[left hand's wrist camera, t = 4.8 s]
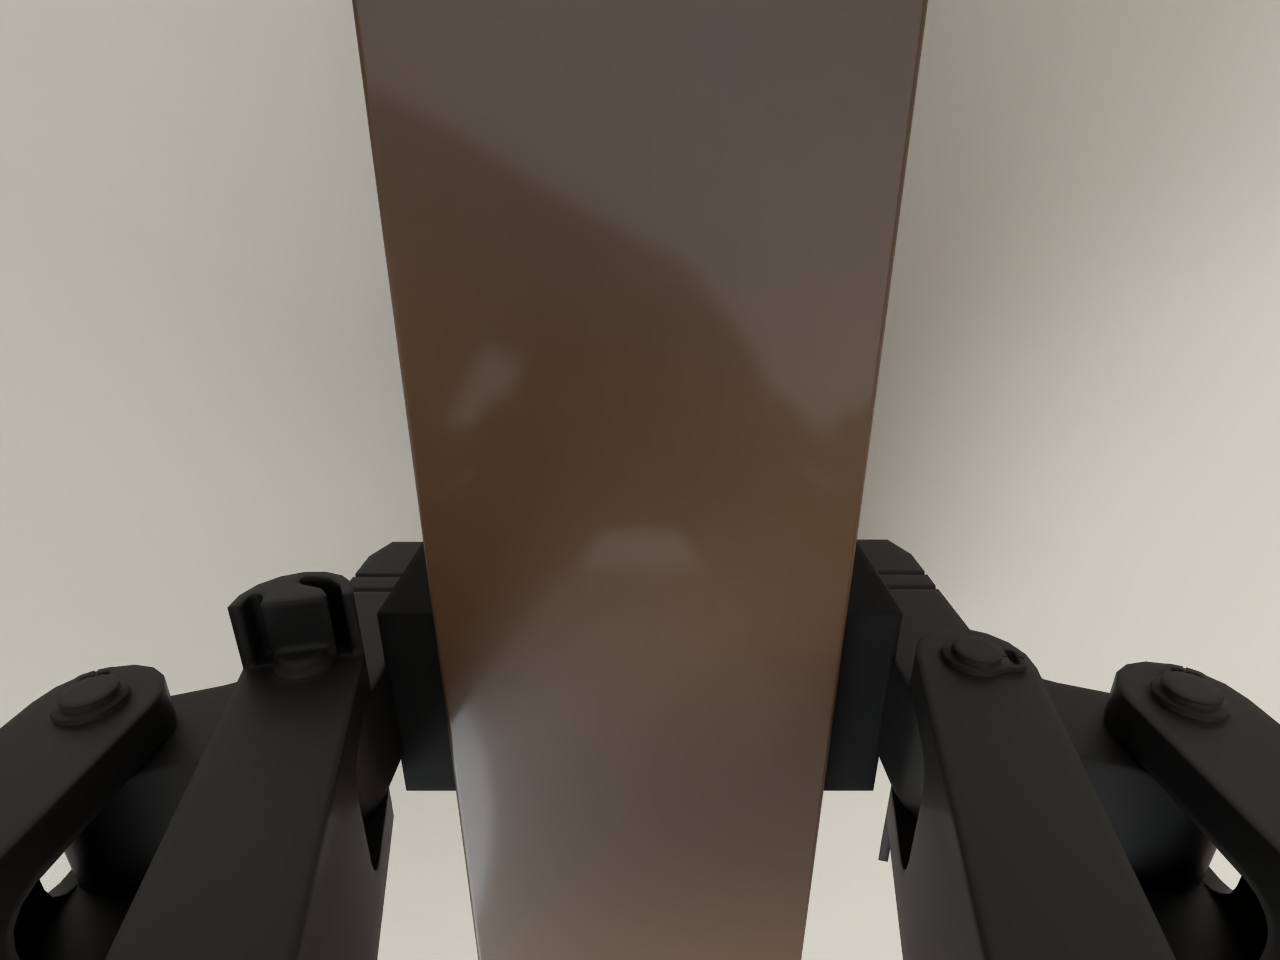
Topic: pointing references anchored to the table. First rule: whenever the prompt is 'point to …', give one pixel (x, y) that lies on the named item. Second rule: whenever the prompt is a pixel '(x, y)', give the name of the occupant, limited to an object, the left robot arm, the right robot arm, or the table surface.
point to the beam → (639, 434)
